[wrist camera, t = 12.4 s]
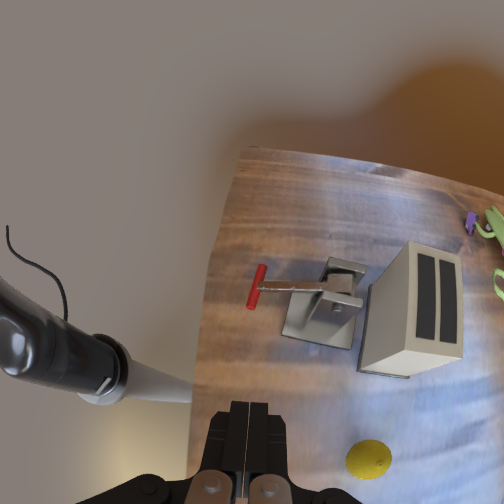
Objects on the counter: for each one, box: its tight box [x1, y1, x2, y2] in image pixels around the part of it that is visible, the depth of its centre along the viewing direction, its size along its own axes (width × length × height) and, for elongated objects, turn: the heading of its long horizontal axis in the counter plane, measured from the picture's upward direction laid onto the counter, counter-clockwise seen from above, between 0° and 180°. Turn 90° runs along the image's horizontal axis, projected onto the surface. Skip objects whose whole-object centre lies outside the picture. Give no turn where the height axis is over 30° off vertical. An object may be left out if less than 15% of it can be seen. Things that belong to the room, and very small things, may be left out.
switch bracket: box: [281, 257, 367, 351], centre depth 35 cm, size 10×8×13 cm
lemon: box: [346, 440, 392, 480], centre depth 26 cm, size 6×6×8 cm
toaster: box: [356, 241, 464, 379], centre depth 32 cm, size 9×14×14 cm, turn 164°
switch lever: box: [246, 264, 356, 310], centre depth 33 cm, size 13×6×2 cm
